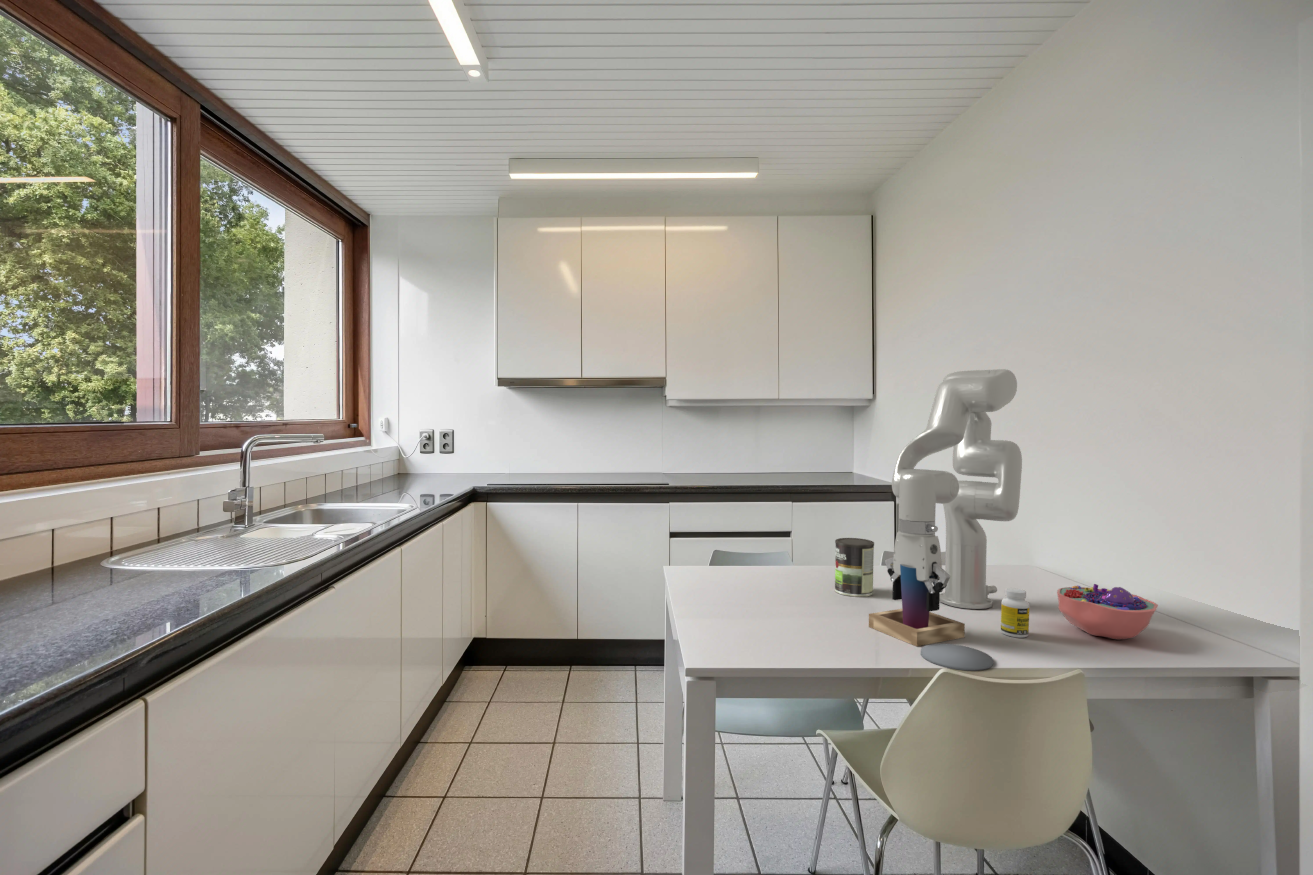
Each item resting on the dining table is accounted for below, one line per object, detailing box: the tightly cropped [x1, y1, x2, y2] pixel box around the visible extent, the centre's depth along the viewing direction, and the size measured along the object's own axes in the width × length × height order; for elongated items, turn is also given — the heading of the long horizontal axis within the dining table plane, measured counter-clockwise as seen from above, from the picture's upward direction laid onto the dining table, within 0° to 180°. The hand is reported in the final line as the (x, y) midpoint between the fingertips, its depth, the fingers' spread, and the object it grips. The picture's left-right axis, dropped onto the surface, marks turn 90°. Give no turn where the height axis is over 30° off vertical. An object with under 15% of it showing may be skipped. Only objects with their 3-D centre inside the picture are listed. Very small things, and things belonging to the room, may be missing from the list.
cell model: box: [1056, 583, 1159, 641], centre depth 142 cm, size 17×20×11 cm
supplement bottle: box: [1000, 587, 1030, 639], centre depth 142 cm, size 5×5×10 cm
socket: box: [868, 608, 966, 647], centre depth 143 cm, size 14×14×3 cm
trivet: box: [920, 643, 994, 672], centre depth 127 cm, size 13×13×1 cm
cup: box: [900, 564, 933, 629], centre depth 143 cm, size 7×7×15 cm
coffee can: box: [834, 537, 875, 598], centre depth 176 cm, size 10×10×14 cm
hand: (915, 604), depth 143 cm, fingers open, 9 cm apart
